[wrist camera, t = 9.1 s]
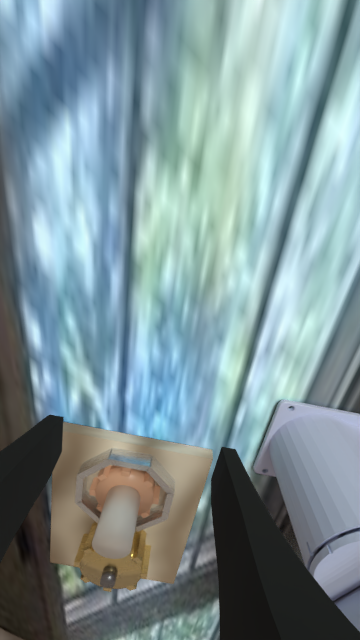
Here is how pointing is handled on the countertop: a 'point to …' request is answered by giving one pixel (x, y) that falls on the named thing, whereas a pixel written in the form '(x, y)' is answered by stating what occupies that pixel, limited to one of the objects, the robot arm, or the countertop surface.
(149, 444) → the carrier plate
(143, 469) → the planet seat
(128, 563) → the sun gear
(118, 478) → the gear
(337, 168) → the countertop surface
